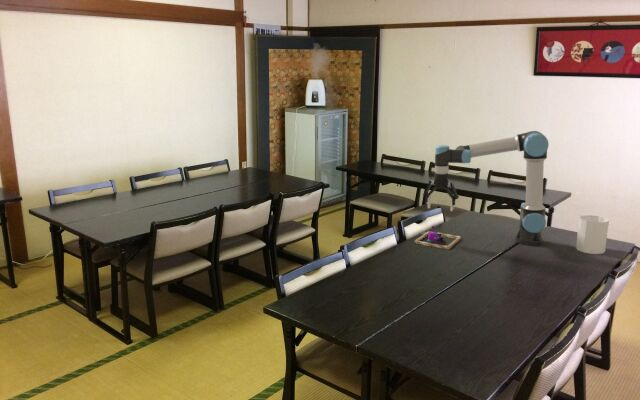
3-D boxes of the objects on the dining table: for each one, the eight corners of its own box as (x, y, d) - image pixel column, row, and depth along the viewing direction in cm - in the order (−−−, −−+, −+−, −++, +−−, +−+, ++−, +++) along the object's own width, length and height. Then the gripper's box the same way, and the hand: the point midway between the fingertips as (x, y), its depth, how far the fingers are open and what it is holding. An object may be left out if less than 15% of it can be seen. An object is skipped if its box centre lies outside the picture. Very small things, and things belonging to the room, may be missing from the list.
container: (597, 256, 287) (602, 223, 283) (571, 249, 298) (574, 218, 293) (608, 250, 296) (613, 218, 292) (582, 244, 307) (586, 213, 303)
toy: (450, 243, 310) (439, 243, 298) (436, 250, 315) (425, 250, 303) (441, 225, 314) (430, 224, 302) (428, 232, 319) (416, 231, 307)
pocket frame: (461, 238, 316) (461, 236, 315) (448, 249, 297) (448, 246, 297) (423, 232, 328) (423, 230, 328) (409, 242, 309) (409, 240, 309)
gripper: (465, 173, 299) (463, 210, 304) (423, 170, 312) (422, 205, 317) (461, 175, 293) (459, 213, 298) (418, 172, 306) (417, 208, 311)
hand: (440, 209), depth 307 cm, fingers open, 13 cm apart
